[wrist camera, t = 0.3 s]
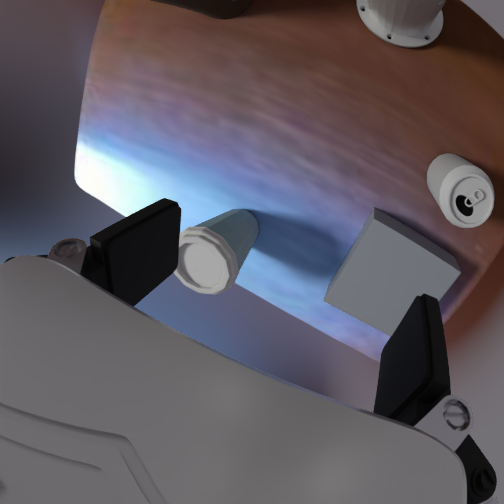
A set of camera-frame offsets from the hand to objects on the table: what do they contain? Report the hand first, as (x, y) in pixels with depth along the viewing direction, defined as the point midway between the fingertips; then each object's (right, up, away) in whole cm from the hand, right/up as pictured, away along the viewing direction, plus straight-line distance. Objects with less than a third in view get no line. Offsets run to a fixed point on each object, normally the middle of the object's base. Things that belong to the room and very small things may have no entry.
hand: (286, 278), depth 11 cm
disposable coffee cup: (-3, +5, +42) cm, 42 cm away
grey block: (+22, -2, +34) cm, 40 cm away
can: (+27, +12, +24) cm, 38 cm away
